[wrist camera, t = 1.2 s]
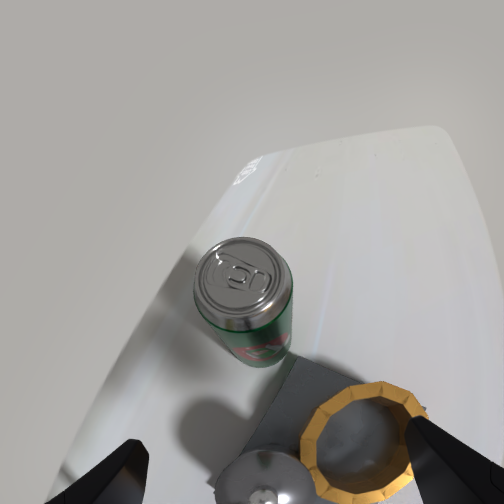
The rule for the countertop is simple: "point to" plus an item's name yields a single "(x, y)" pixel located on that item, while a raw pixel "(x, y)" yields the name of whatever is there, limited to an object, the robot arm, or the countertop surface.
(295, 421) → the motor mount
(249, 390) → the countertop surface
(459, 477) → the robot arm
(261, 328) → the soda can
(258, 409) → the countertop surface
